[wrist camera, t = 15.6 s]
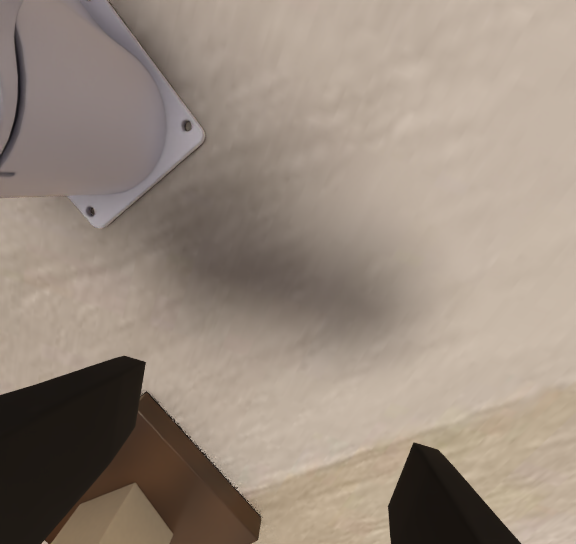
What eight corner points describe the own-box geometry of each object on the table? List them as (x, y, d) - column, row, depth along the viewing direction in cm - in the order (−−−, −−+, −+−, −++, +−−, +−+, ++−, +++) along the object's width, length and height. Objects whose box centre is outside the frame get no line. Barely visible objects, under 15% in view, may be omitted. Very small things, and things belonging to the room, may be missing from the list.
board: (18, 479, 24) (-1, 498, 22) (147, 391, 21) (134, 406, 19) (130, 586, 25) (119, 610, 24) (261, 518, 23) (258, 540, 21)
